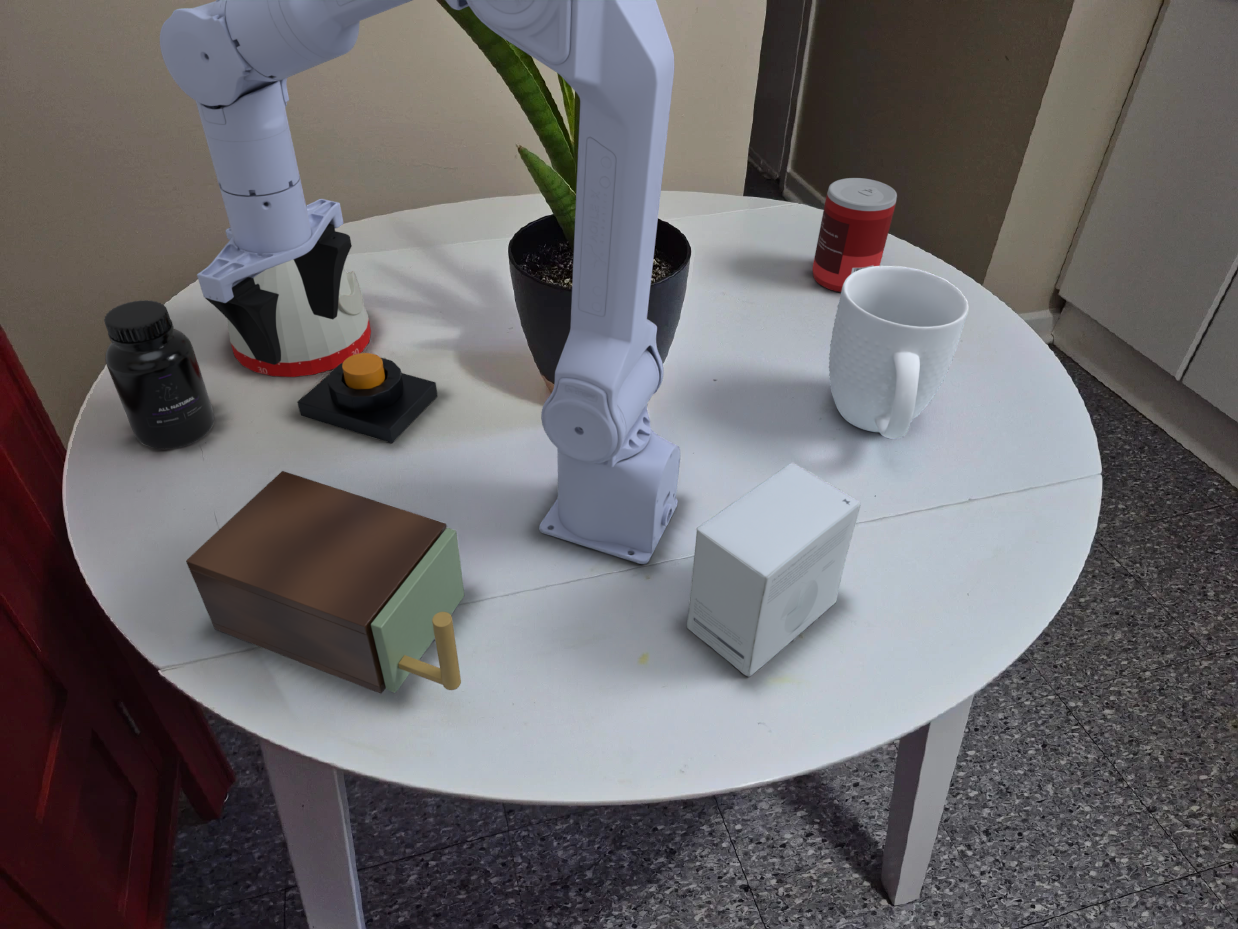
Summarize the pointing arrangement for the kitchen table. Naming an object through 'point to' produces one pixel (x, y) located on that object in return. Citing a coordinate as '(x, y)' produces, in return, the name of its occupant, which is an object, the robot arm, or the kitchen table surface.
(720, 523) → the cosmetics box
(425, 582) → the shelf door
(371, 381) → the button
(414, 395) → the switch box
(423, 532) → the shelf cabinet
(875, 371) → the mug
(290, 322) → the kitchen timer
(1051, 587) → the kitchen table surface
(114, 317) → the supplement bottle
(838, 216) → the canned food
